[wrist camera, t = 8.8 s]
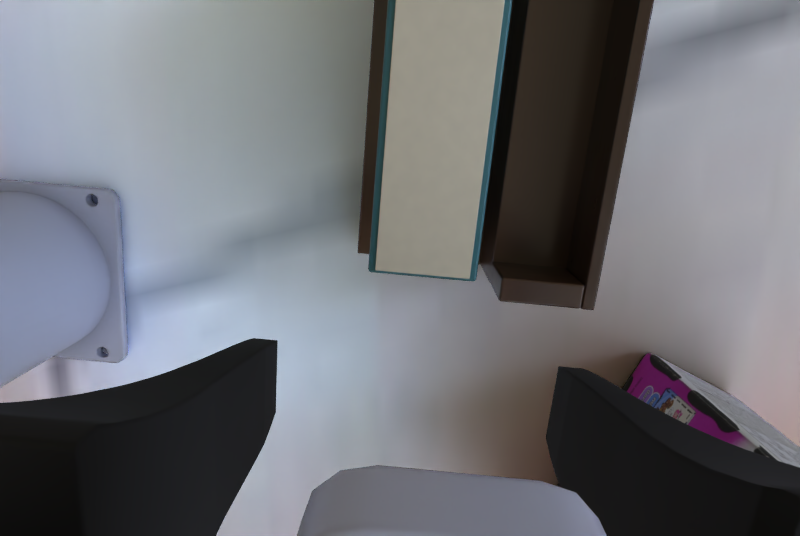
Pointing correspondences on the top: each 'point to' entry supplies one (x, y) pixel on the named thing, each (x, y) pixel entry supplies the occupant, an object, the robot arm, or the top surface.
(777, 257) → the top surface
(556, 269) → the step shelf
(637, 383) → the candy bar box
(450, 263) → the book
